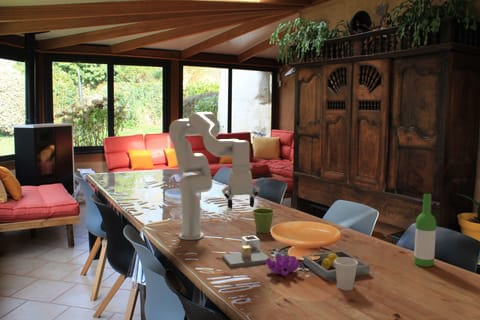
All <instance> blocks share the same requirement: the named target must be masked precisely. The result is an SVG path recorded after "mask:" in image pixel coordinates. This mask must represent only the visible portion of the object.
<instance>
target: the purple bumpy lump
mask: <svg viewBox="0 0 480 320" xmlns="http://www.w3.org/2000/svg"><path fill="white" fill-rule="evenodd" d="M265 262H266V263H265V264H266V265H267V267H268V269H269V270H270V271H271V272H273V273H274V274H276V275H282V276H283V277H285V276H286V277H287V275H288V274H290V273H292V272H294V271H296V270H297V269H299V268H300V266H301V264H302V263H301V261H299V260H297V257H296V256H295V255H290V257H289V256H286V255H285V256H282V254H277V255H275V260H272V259H271V257H269V258H268V259H266V260H265Z"/></svg>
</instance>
